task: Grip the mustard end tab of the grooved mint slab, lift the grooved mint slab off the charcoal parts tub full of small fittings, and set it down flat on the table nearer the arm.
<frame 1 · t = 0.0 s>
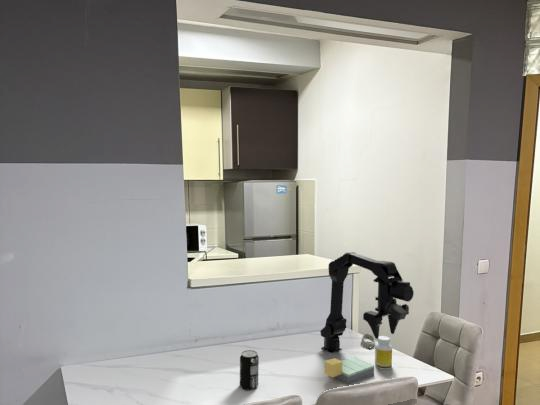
hand: (384, 336, 158), 15 cm above the table, tool pointing down, fingers open, 9 cm apart
chrome dome knob: (341, 374, 157), resting on tub
walnut block: (348, 378, 153), resting on tub
pill bottle: (383, 367, 165), on the table
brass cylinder: (354, 369, 161), resting on tub
beverage can: (248, 387, 147), on the table
tub: (351, 375, 157), on the table
grooved mint slab: (351, 367, 157), point 3 cm above the table, touching tub
wristwatch: (367, 345, 188), on the table
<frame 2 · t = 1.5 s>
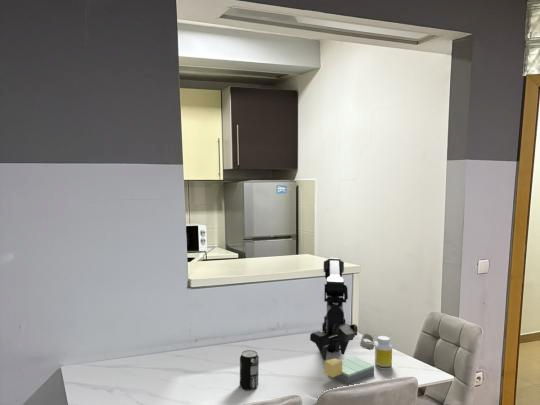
hand: (333, 357, 151), 9 cm above the table, tool pointing down, fingers open, 9 cm apart
nothing on the table moved.
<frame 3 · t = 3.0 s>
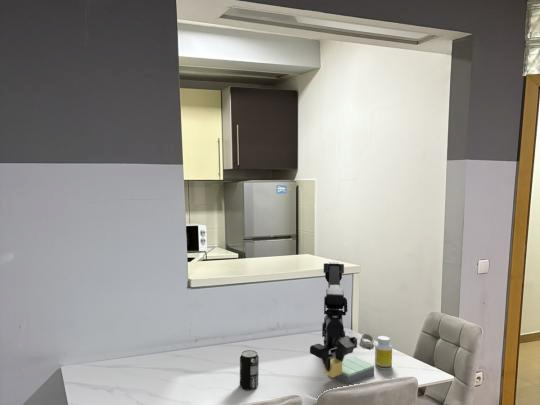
hand: (333, 369, 151), 5 cm above the table, tool pointing down, fingers closed on grooved mint slab, 5 cm apart
grooved mint slab: (351, 367, 157), point 3 cm above the table, touching gripper, tub
everything else where it was.
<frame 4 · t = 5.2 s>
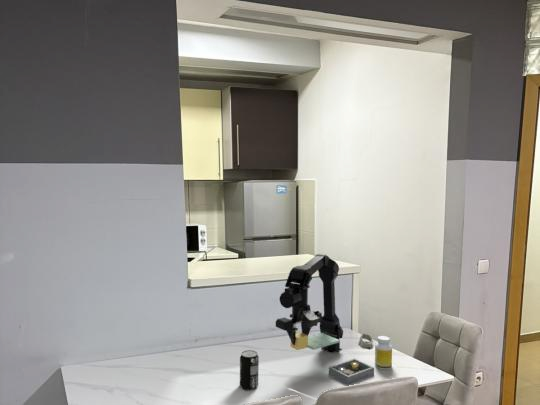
hand: (299, 343, 155), 13 cm above the table, tool pointing down, fingers closed on grooved mint slab, 5 cm apart
grooved mint slab: (317, 341, 161), point 11 cm above the table, touching gripper
everything else where it was.
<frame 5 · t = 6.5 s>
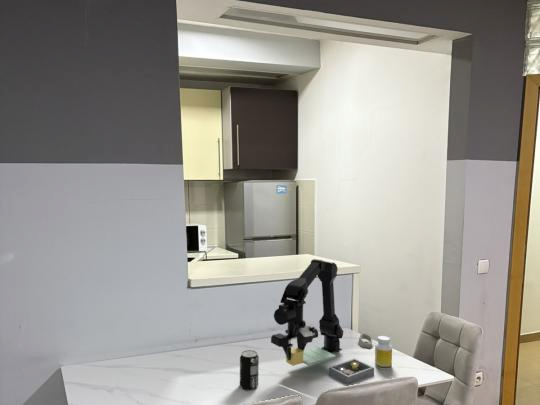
hand: (294, 358, 156), 6 cm above the table, tool pointing down, fingers closed on grooved mint slab, 5 cm apart
grooved mint slab: (313, 357, 161), point 5 cm above the table, touching gripper
when the fingers open (3 cm above the table, at t = 7.5 s): grooved mint slab drops 2 cm, on the table.
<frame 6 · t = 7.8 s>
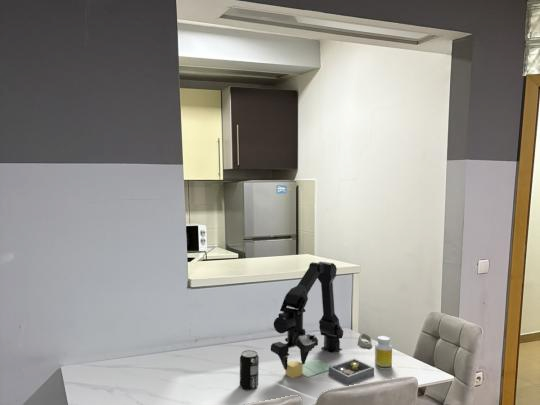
hand: (294, 366, 156), 3 cm above the table, tool pointing down, fingers open, 8 cm apart
grooved mint slab: (312, 369, 161), on the table
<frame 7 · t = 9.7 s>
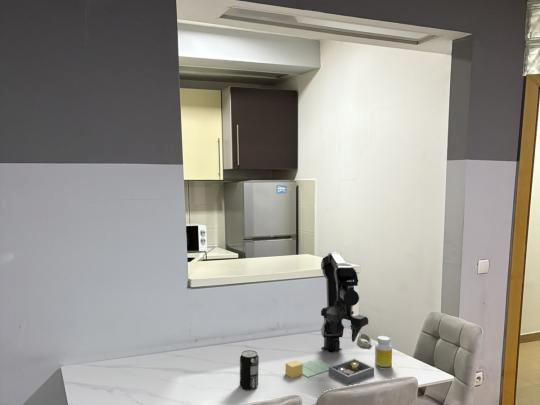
hand: (343, 338, 160), 13 cm above the table, tool pointing down, fingers open, 9 cm apart
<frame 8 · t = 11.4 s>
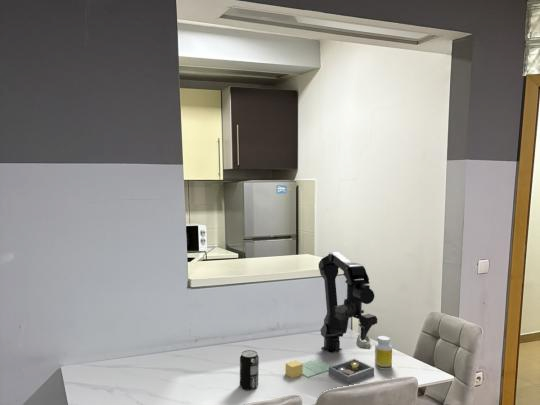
hand: (353, 336, 161), 13 cm above the table, tool pointing down, fingers open, 9 cm apart
at the end: grooved mint slab inside the target area (0.3 cm from its centre), on the table; grooved mint slab tilted 0°; the gripper is holding nothing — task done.
